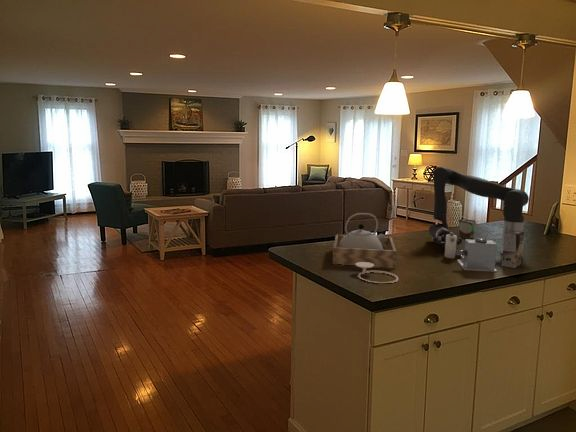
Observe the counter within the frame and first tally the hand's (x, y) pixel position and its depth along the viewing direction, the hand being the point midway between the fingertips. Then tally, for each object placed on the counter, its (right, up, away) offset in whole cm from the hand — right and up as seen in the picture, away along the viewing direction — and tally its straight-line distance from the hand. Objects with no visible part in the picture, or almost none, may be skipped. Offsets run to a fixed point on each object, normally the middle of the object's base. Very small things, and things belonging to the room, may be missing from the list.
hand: (449, 242), depth 237 cm
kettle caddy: (-45, -7, -8) cm, 46 cm away
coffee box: (+24, -10, -16) cm, 30 cm away
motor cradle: (+5, -10, -18) cm, 21 cm away
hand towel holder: (-45, -13, -39) cm, 61 cm away
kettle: (-45, -7, -7) cm, 47 cm away
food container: (+28, +1, +48) cm, 55 cm away
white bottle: (-1, -7, -2) cm, 7 cm away
